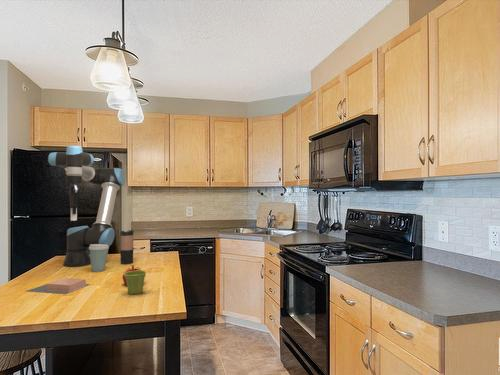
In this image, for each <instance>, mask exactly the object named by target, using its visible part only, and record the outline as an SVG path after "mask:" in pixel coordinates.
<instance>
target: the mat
mask: <svg viewBox="0 0 500 375" xmlns="http://www.w3.org/2000/svg"><path fill="white" fill-rule="evenodd" d="M46 284H47V283H46ZM46 284H43V285H39V286H37V287H34V288H33V287H32V288H30V289H28V290H25V292H29V293H30V292H31V293H40V294H42V293H44V294H55V295H58V294H59V295H68V294H71V293H73V292H75V291H78V290H81V289H83V288H86V287H88V286H91V285H92V284H90V283H86V286H84V287H81V288H79V289H76V290H74V291H71V292H61V291H47V290H46Z"/></svg>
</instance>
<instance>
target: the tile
mask: <svg viewBox="0 0 500 375" xmlns="http://www.w3.org/2000/svg"><path fill="white" fill-rule="evenodd" d="M86 284H87V283H86V279H85V278H70V277H69V278H67V277H62V278H59V279H56V280H52V281H50V282H47V283H46V290H47V291H61V292H71V291H73V292H75V291H74V290H76V289H78V290H80V289H79V288H81V287H83V288H85V287H84V286H86ZM86 287H87V286H86ZM81 289H82V288H81ZM76 291H77V290H76ZM71 293H72V292H71Z"/></svg>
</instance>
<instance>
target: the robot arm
mask: <svg viewBox="0 0 500 375" xmlns="http://www.w3.org/2000/svg"><path fill="white" fill-rule="evenodd" d="M65 151H66V152H65ZM65 151H64V152H62V151H61V152H60V151H59V152H58V151H56V152H55V151H54V152H50V153H49V154H48V157H47V162H48V164H49V165H50V166H52V167H60V168H63V169H64V171H65V183H66V184H70V186H69V187H68V192H69V209H70V222H72V221H73V222H75V221H78V207H79V192H80V186H78V184H82V183H83V181H85V182H88V183H90V184H93V185H96V186H101V188H102V192H101V197H100V202H99V207H98V211H97V215H96V220H95V222H93V223H92V225H91V227H89V226H88V225H82V226H75V227H69V228H68V229H67V231H66V254H65V257H64V259H63V266H64V268H65V267H66V268H67V267H68V268H75V267H76V268H77V267H84V266H85V267H86V266H88V265H91V259H90V251H89V246H90V245H91V244H106V245H108V246H109V247H110V246H112V244H113V242H114V240H115V235H116V232H115V229H114V228H113V225H112V218H113V213H114V208H115V203H116V199H117V198H116V197H117V192H118V191H119V190H120V189H121V186H125V182H126V177H125V172H124V171H123V169H121V168H120V167H119V168H118V167H92V165H93V164H94V163H95V162H94V161H95V158H94V155H93V154H91V153H88V152H84V151H83V147H82V146H80V145H68V146H66V149H65Z"/></svg>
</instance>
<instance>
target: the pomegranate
mask: <svg viewBox="0 0 500 375" xmlns="http://www.w3.org/2000/svg"><path fill="white" fill-rule="evenodd" d="M139 267H140V266H137V267H135V265H134V264H132V265H131V268H130V267H129V268H127V269H126V270H125V272H124V273H126V272H130V271H143V270H142V269H141V268H139ZM124 273H123V274H122V281H123V285H125V286H126V287H127V282H126V278H125V275H124Z"/></svg>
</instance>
